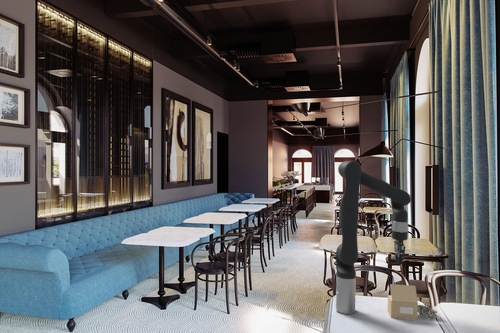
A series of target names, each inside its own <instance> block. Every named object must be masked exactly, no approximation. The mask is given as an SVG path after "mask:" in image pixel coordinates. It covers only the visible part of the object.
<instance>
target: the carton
mask: <svg viewBox="0 0 500 333" xmlns="http://www.w3.org/2000/svg"><path fill="white" fill-rule="evenodd" d="M418 305H419V304H418V303H411V302H398V301H392V297H391V294H388V295H387V313H388V314H389V316H390V318H394V319H402V320H403V319H405V320H415V321H418V315H419V312H418Z"/></svg>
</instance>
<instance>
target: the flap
mask: <svg viewBox="0 0 500 333" xmlns="http://www.w3.org/2000/svg"><path fill="white" fill-rule="evenodd" d="M390 295H391V297H392V301H398V302H411V303H418V302H419V301H418V296H417V289H416V285H410V284H409V285H407V284H394V283H393V284H391V283H390Z"/></svg>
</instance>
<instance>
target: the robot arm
mask: <svg viewBox="0 0 500 333" xmlns="http://www.w3.org/2000/svg"><path fill="white" fill-rule="evenodd" d="M337 171H338V172H337V173H338V174H339V175H340V176H341V177H342V178H343V179H344V191H343V195H342V197H341V200H340V202H339V214H338V216H339V217H338V218H339V225H340V229H341V230H340V231H341V236H342V238H341V244H339V245H338V246H337V248H336V251H335V269H336V270H335V271H336V288H335V310H336V313H341V314H345V315H351V314H354V313H355V312H356V290H357V289H356V286H357V285H356V283H357V273H356V268H355V264H356V262H357V261H358V259H359V245H358V233H359V232H358V230H359V216H360V214H359V213H360V212H359V211H360V209H359V208H360V206H359V205H360V185H362V186H364V187H366V188H368V189H370V190H371V191H372V192H374V193H377V195H380V196H382V197H385V198H387V199H390V204H391V209H392V224H391V238H392V239H393V244H394V246H393V247H394V254H395V262H397V264H398V265H399V266H402V265H403V264H404V258H405V255H406V254H405V253H406V246H405V243H404V241H408V239H409V238H408V236H409V234H408V233H409V224H408V223H409V222H408V220H409V219H408V215H409V214H408V211H407V210H406V209H405V206H407V205H410V203H411V200H412V198H411V195H410V194H409V192H407V191H405V190H403V189H400V188H398V187H396V186H393V185H392V184H391V183H389V182H387V181H385V180H383V179H381V178H379V177H376V176H374V175H371V174H368V173H367V172H364V171H363V170H362V166H361V164H360V163H359V162H358V161H356V160H344V161H342V162H341V163H340V164H339V165H338V169H337Z"/></svg>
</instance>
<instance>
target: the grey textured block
mask: <svg viewBox="0 0 500 333" xmlns="http://www.w3.org/2000/svg"><path fill="white" fill-rule="evenodd" d="M437 314H438V311H437V310H435V309H433V308H431V306H429V305H428V306H427V305H423V304H418V315H419V316H420V317H421V318H422V319H425V320H428V319H431V320H436V319H437Z"/></svg>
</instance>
